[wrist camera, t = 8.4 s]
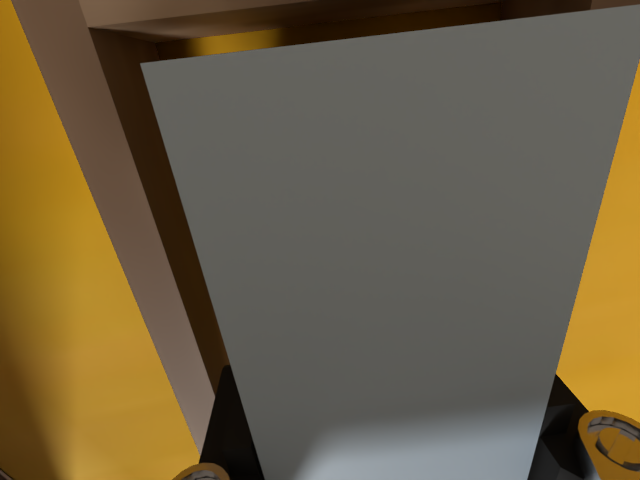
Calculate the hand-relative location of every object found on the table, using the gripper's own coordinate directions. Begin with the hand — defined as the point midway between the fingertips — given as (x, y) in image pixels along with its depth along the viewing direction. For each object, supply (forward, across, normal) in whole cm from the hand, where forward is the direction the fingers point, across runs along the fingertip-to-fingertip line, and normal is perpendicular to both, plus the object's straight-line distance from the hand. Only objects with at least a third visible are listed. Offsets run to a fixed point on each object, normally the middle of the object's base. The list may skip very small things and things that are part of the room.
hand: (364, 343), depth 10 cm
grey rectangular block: (+1, 0, 0) cm, 1 cm away
